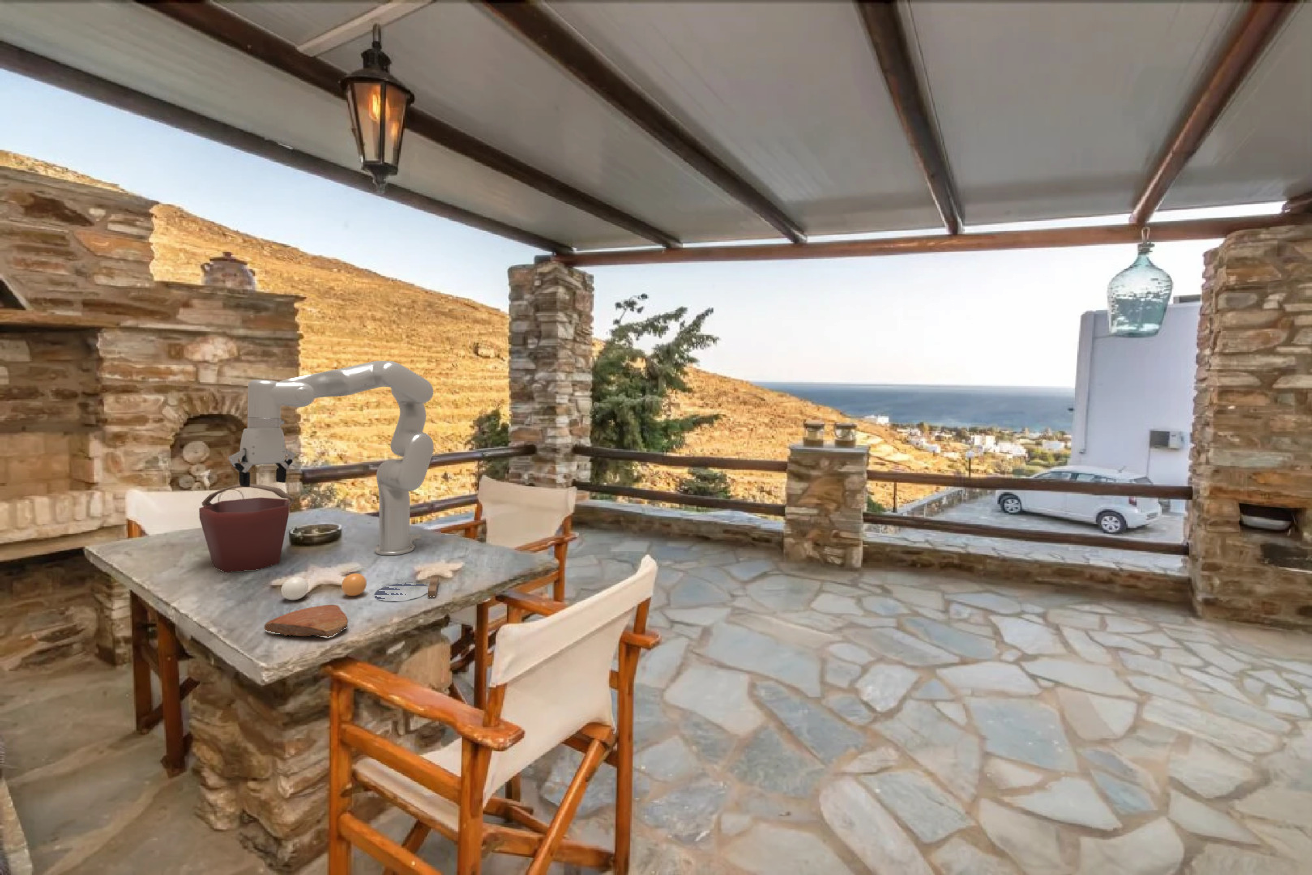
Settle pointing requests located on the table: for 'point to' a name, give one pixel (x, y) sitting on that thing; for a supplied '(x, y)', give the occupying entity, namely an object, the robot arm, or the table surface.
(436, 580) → the stopper rail
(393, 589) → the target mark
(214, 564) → the bucket
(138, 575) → the table surface
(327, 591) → the table surface
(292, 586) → the cue ball
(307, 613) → the ceramic shard
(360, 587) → the object ball
